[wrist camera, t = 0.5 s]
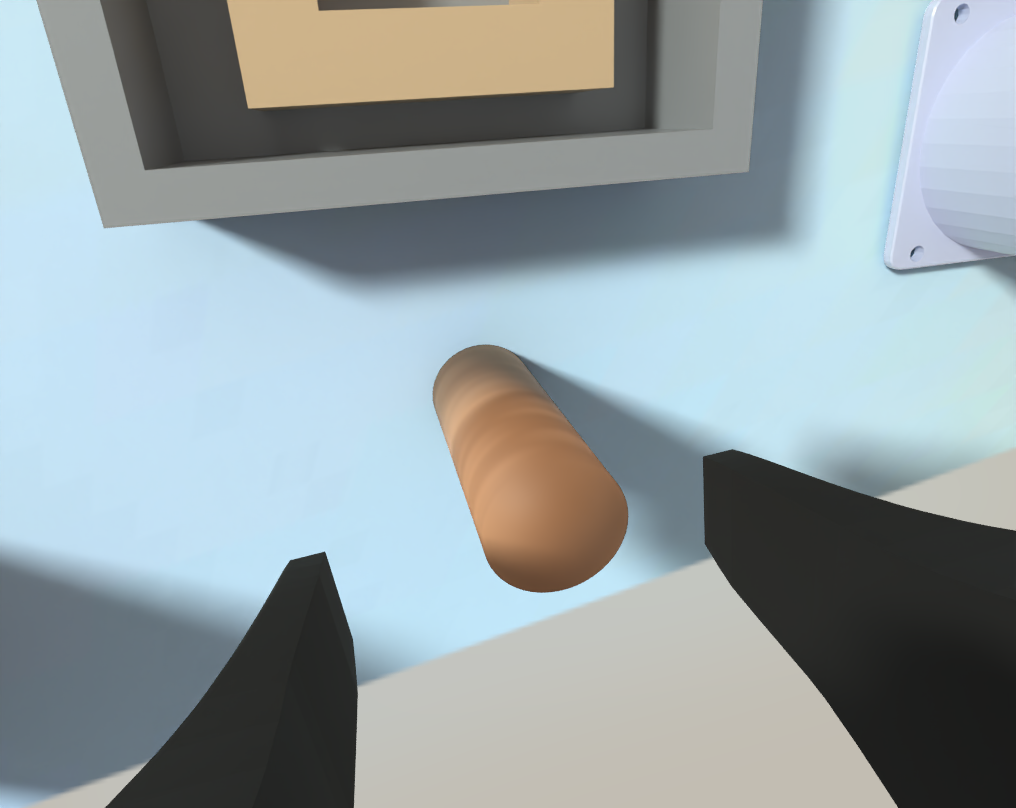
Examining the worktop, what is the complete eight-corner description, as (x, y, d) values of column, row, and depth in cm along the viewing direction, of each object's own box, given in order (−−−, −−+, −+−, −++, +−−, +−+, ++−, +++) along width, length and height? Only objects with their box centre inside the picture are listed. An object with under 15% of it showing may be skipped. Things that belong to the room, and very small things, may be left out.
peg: (529, 338, 21) (628, 450, 14) (533, 430, 22) (627, 576, 15) (427, 351, 20) (476, 476, 13) (438, 445, 21) (488, 605, 14)
